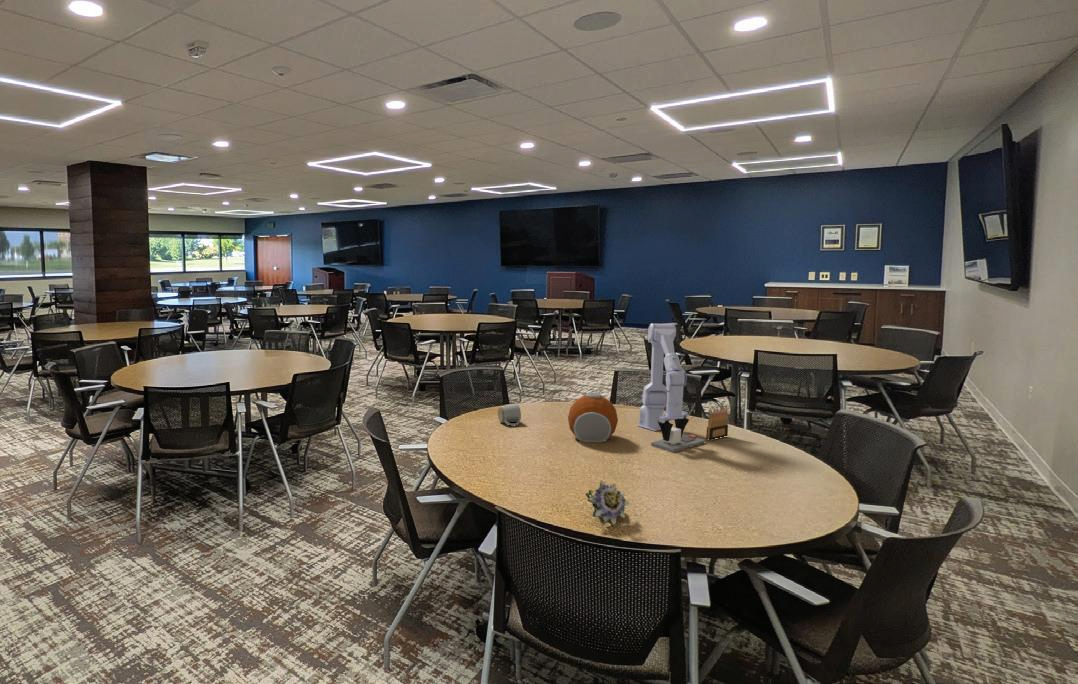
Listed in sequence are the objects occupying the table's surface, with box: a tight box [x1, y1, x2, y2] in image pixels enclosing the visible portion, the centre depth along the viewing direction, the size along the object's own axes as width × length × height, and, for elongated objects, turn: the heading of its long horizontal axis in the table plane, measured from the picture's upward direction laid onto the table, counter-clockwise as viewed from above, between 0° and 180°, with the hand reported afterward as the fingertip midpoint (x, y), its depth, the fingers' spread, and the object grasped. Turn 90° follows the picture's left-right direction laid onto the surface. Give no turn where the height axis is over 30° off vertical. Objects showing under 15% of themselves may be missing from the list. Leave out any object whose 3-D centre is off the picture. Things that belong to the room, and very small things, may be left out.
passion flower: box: [585, 480, 630, 526], centre depth 151 cm, size 11×11×12 cm
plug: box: [664, 426, 681, 446], centre depth 214 cm, size 4×4×7 cm
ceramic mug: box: [497, 403, 522, 427], centre depth 239 cm, size 11×8×8 cm
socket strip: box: [650, 433, 707, 453], centre depth 216 cm, size 10×20×2 cm, turn 130°
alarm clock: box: [567, 392, 619, 443], centre depth 221 cm, size 19×18×17 cm
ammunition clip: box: [705, 406, 729, 441], centre depth 225 cm, size 11×2×12 cm, turn 124°
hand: (672, 438), depth 214 cm, fingers open, 7 cm apart
